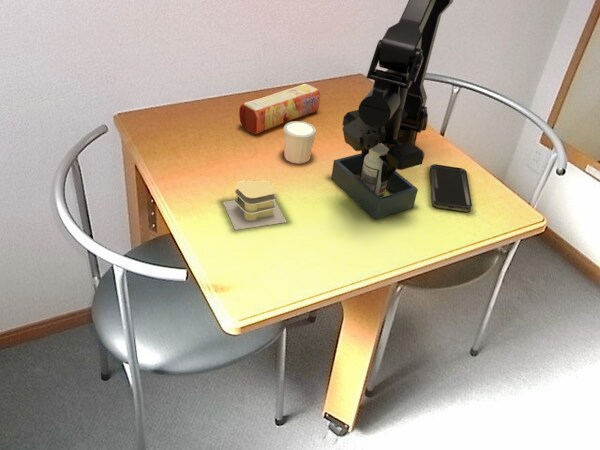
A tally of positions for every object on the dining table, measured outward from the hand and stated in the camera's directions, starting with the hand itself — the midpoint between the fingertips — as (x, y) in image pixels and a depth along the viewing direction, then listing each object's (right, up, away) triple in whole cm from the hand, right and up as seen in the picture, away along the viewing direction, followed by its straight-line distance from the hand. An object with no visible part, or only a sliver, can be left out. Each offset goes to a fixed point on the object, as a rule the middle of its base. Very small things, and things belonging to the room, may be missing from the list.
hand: (374, 174), depth 124 cm
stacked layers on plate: (-24, -8, -6) cm, 26 cm away
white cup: (-16, +5, +11) cm, 20 cm away
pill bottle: (0, -3, +2) cm, 4 cm away
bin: (0, -3, +3) cm, 4 cm away
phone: (+16, -3, +6) cm, 18 cm away
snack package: (-20, +15, +24) cm, 34 cm away
